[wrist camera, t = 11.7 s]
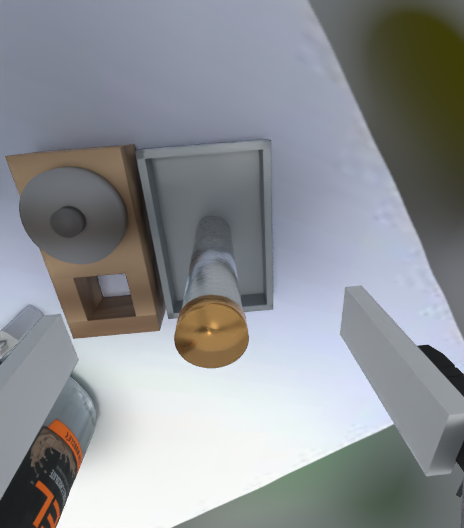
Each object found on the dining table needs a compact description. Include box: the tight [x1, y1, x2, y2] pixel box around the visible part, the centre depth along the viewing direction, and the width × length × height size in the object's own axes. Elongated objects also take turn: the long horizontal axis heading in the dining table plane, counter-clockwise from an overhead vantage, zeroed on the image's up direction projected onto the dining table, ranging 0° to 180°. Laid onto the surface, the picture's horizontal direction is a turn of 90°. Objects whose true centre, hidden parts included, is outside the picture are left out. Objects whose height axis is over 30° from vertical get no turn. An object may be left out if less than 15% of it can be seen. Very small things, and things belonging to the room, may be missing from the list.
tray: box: [135, 139, 273, 319], centre depth 26 cm, size 15×10×3 cm
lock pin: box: [174, 216, 249, 368], centre depth 20 cm, size 3×3×15 cm
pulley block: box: [5, 144, 166, 339], centre depth 25 cm, size 16×8×7 cm, turn 4°
